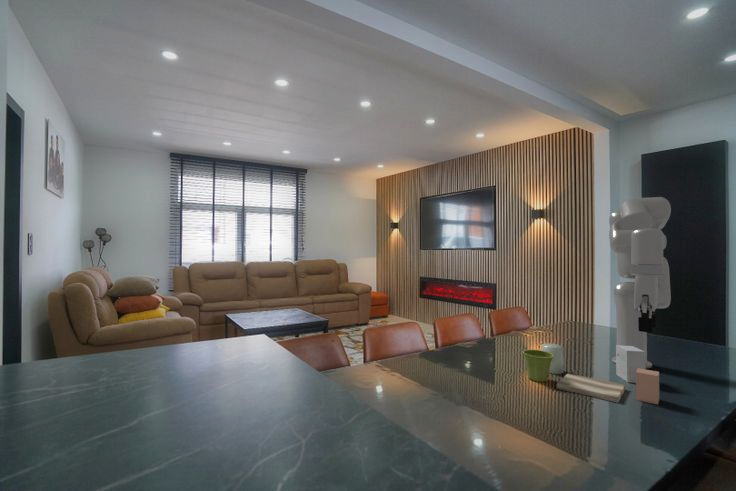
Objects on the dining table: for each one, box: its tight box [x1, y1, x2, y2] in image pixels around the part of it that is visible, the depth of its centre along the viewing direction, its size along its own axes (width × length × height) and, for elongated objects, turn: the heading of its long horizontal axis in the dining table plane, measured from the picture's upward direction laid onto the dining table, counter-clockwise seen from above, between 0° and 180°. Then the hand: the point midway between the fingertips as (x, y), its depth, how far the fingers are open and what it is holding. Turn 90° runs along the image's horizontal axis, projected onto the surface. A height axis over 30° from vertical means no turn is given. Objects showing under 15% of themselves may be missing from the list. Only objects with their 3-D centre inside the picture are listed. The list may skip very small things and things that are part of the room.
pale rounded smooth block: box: [541, 343, 565, 375], centre depth 132 cm, size 7×7×9 cm
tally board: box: [556, 372, 626, 404], centre depth 114 cm, size 14×16×2 cm
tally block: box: [635, 368, 660, 405], centre depth 106 cm, size 5×5×8 cm
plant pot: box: [522, 349, 554, 383], centre depth 123 cm, size 9×9×9 cm
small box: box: [615, 344, 647, 384], centre depth 124 cm, size 8×6×10 cm
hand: (647, 329), depth 107 cm, fingers open, 9 cm apart
